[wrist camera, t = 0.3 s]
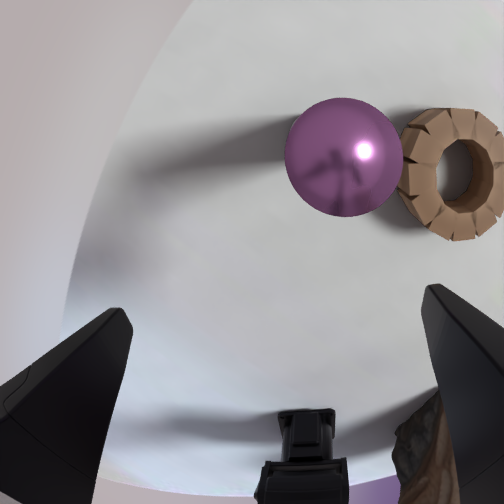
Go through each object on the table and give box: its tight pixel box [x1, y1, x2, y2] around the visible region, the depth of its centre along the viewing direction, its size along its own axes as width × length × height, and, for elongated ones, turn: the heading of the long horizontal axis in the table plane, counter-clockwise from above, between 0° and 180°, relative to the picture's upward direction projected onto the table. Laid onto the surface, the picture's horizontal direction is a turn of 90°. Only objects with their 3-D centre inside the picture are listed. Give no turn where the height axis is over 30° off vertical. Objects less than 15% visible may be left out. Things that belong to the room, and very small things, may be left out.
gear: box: [397, 108, 504, 241], centre depth 17 cm, size 9×9×3 cm
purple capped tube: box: [285, 98, 403, 217], centre depth 13 cm, size 3×3×13 cm
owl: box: [392, 391, 460, 504], centre depth 21 cm, size 13×13×20 cm
